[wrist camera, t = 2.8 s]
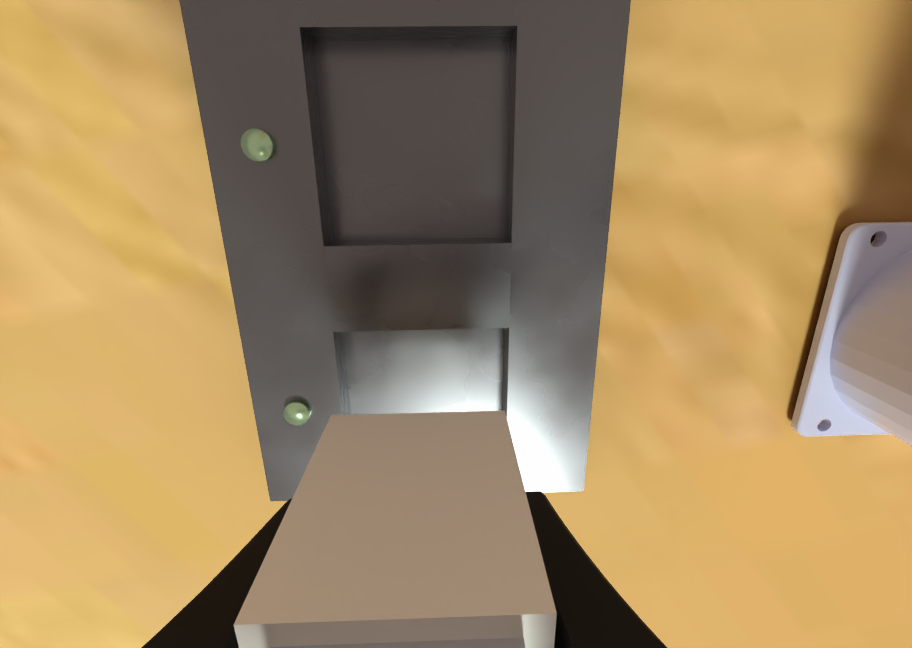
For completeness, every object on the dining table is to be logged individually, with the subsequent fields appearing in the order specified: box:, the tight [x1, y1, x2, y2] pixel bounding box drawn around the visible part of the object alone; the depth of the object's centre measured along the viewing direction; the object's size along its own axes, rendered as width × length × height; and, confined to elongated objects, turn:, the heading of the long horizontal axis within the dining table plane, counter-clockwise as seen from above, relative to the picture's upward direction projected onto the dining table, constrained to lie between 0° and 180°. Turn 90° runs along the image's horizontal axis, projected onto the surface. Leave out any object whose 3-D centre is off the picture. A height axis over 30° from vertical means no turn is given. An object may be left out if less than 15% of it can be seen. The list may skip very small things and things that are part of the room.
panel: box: [180, 0, 631, 501], centre depth 14 cm, size 11×15×2 cm
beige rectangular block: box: [234, 411, 557, 648], centre depth 8 cm, size 4×4×6 cm
